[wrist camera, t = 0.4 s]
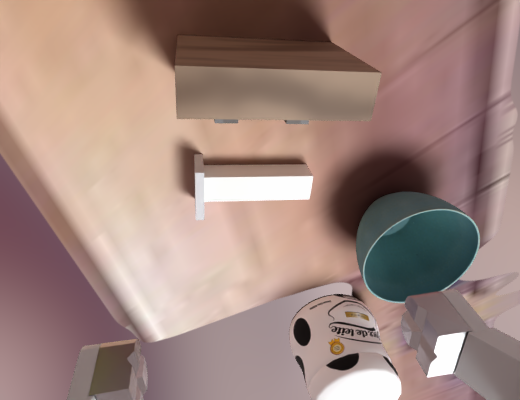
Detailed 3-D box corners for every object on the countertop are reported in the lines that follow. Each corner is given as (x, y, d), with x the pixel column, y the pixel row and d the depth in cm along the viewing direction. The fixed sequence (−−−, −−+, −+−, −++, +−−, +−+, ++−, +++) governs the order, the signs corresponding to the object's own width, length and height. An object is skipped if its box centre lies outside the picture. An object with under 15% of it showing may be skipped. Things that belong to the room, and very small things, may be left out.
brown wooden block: (177, 34, 49) (174, 65, 36) (331, 42, 53) (381, 72, 39) (179, 101, 54) (178, 151, 40) (321, 104, 57) (364, 150, 44)
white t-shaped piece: (195, 198, 62) (195, 220, 57) (194, 153, 58) (195, 172, 53) (301, 195, 65) (311, 216, 60) (307, 153, 61) (318, 171, 56)
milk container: (362, 275, 77) (406, 354, 62) (370, 331, 86) (410, 411, 71) (276, 301, 77) (299, 387, 62) (294, 354, 86) (317, 439, 71)
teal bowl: (411, 258, 76) (446, 306, 66) (323, 251, 72) (346, 301, 62) (454, 175, 68) (502, 215, 57) (357, 161, 63) (391, 202, 53)
